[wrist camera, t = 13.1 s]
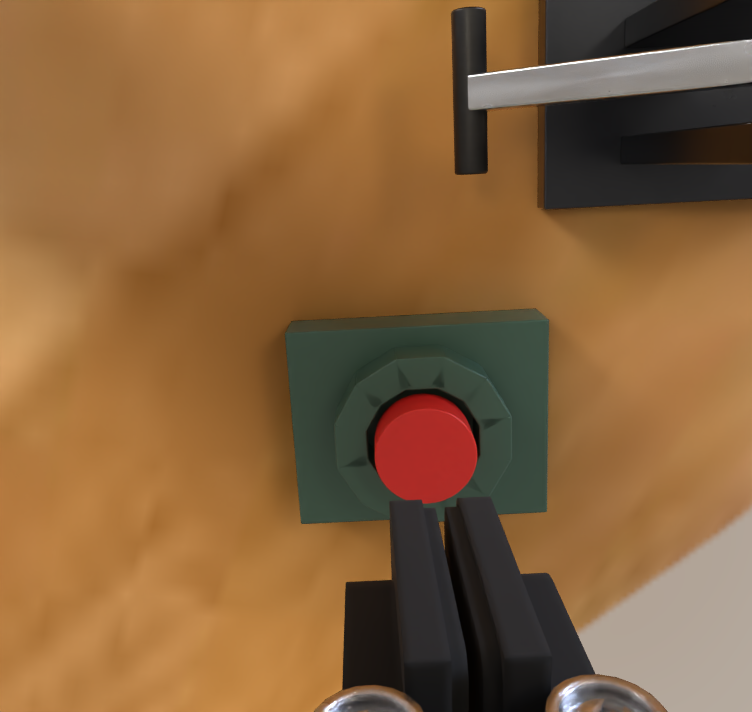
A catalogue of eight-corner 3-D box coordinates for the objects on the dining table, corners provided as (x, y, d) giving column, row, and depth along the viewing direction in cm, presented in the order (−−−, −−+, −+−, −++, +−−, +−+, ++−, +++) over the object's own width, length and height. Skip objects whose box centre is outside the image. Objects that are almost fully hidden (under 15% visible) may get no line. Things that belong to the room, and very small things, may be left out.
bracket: (537, 208, 28) (648, 237, 17) (538, -16, 26) (665, -156, 15) (793, 194, 28) (1079, 214, 17) (814, -32, 26) (1157, -184, 15)
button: (377, 485, 27) (377, 506, 26) (371, 395, 26) (371, 411, 25) (472, 481, 27) (478, 501, 26) (470, 390, 26) (476, 405, 25)
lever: (474, 173, 25) (438, 176, 23) (471, 17, 24) (434, 7, 22) (892, 156, 18) (889, 158, 16) (921, -64, 17) (921, -89, 15)
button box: (306, 500, 31) (296, 547, 28) (290, 320, 29) (278, 344, 25) (535, 489, 31) (558, 534, 27) (536, 308, 29) (561, 330, 25)
